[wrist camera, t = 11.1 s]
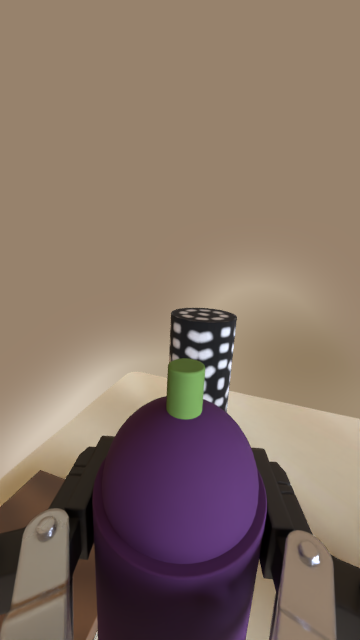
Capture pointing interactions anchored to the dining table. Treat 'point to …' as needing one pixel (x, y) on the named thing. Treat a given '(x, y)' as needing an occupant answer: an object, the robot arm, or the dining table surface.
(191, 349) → the spotted tube
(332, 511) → the dining table surface
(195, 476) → the eggplant
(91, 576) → the cutting board
